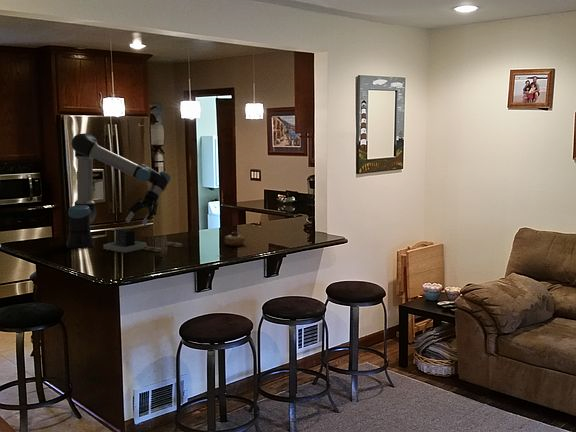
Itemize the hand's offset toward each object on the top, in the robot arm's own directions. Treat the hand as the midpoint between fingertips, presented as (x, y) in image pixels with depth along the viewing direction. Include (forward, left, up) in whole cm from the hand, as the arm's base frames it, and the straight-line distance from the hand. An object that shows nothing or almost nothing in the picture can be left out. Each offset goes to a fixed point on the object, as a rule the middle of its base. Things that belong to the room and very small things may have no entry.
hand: (135, 222), depth 360 cm
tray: (-1, -7, -14) cm, 16 cm away
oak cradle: (+16, +6, -14) cm, 22 cm away
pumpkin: (+43, +37, -15) cm, 59 cm away
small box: (0, -7, -14) cm, 16 cm away
